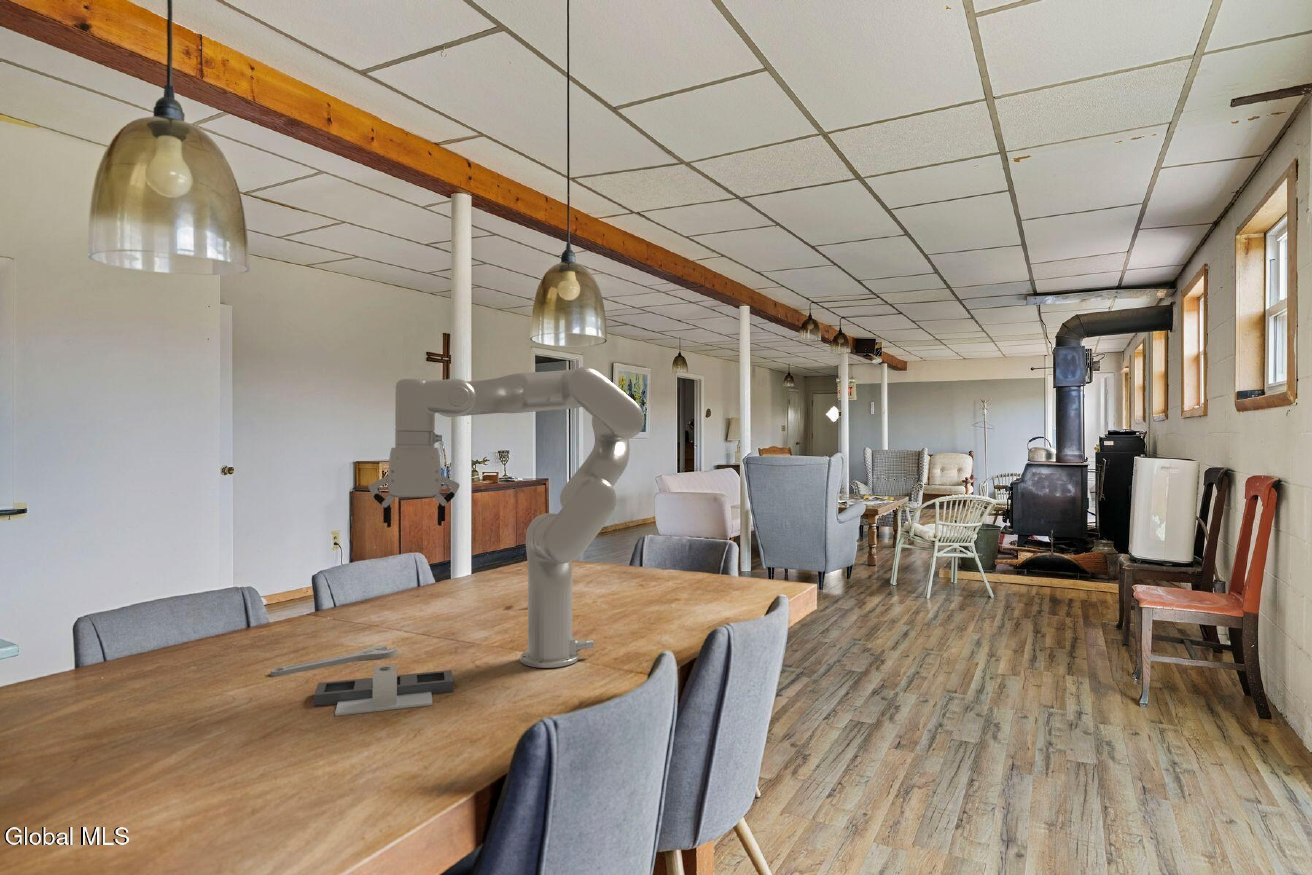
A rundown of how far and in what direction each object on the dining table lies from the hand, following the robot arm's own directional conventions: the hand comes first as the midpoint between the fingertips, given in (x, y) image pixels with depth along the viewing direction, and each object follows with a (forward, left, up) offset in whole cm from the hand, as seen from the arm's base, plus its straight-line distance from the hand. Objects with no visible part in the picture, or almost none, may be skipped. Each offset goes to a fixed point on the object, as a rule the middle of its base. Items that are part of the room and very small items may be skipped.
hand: (414, 525), depth 145 cm
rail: (+5, +8, -30) cm, 32 cm away
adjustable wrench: (+16, -16, -31) cm, 38 cm away
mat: (+5, +14, -30) cm, 34 cm away
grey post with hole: (+5, +14, -30) cm, 33 cm away
